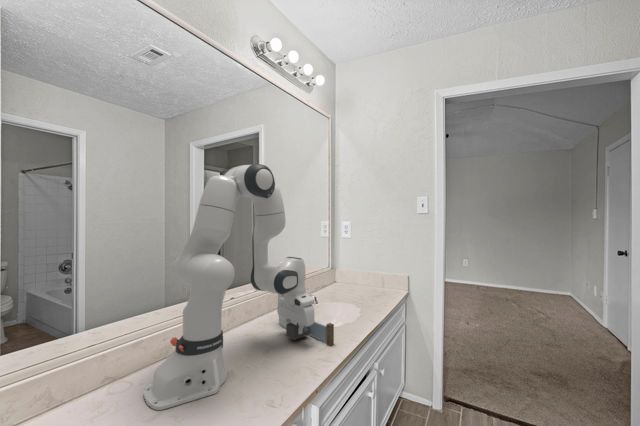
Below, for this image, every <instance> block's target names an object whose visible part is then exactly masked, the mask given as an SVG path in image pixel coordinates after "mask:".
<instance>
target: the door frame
mask: <svg viewBox="0 0 640 426" xmlns="http://www.w3.org/2000/svg"><path fill="white" fill-rule="evenodd" d="M297 325H298V323H297ZM325 326H326V342H325V344H326V346H329V347H333V346H335V343H334V341H335V340H334V339H335V335H334V334H335V333H334V332H335V331H334V330H335V327H334V323H332V322H329V323H326V325H325Z"/></svg>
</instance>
